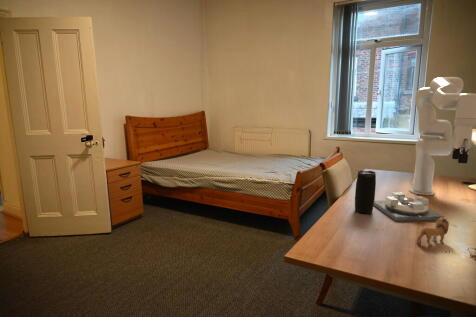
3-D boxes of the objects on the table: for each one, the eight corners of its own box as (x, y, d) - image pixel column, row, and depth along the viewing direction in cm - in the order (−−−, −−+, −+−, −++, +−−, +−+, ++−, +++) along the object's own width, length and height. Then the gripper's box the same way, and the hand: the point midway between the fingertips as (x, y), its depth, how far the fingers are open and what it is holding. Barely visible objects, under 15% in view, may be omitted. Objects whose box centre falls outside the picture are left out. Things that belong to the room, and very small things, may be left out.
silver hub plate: (378, 201, 154) (379, 192, 153) (412, 201, 155) (414, 191, 154) (397, 214, 136) (399, 204, 135) (437, 214, 137) (438, 203, 136)
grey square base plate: (372, 204, 156) (372, 200, 156) (413, 204, 157) (414, 200, 157) (395, 221, 135) (396, 216, 134) (443, 220, 135) (444, 216, 135)
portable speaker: (370, 208, 150) (373, 170, 146) (375, 215, 141) (379, 174, 137) (351, 207, 151) (355, 169, 147) (356, 214, 142) (359, 173, 138)
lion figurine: (436, 236, 120) (439, 214, 118) (450, 241, 115) (453, 219, 114) (412, 243, 114) (415, 221, 112) (426, 250, 109) (429, 226, 107)
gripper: (449, 120, 142) (444, 157, 145) (460, 123, 126) (454, 164, 129) (469, 121, 139) (463, 158, 142) (482, 124, 123) (475, 165, 126)
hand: (459, 161), depth 136 cm, fingers open, 9 cm apart
